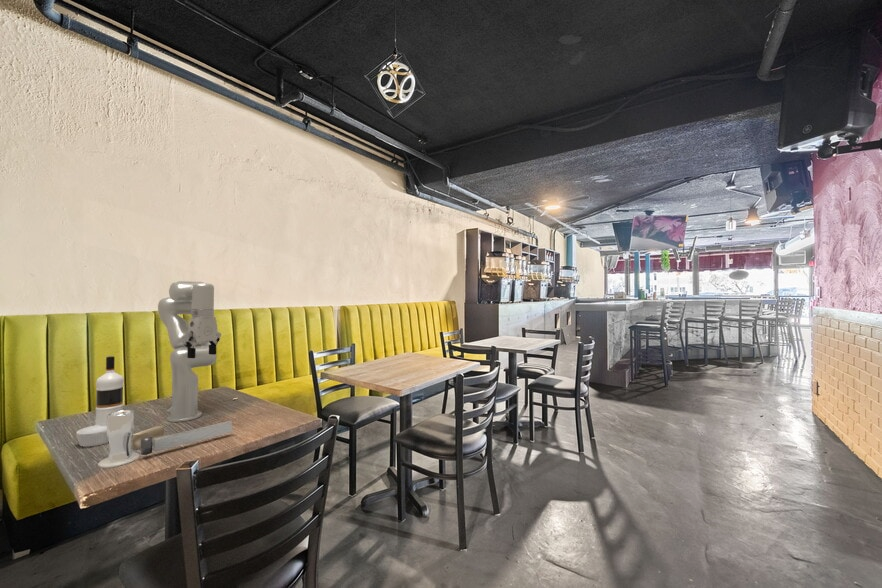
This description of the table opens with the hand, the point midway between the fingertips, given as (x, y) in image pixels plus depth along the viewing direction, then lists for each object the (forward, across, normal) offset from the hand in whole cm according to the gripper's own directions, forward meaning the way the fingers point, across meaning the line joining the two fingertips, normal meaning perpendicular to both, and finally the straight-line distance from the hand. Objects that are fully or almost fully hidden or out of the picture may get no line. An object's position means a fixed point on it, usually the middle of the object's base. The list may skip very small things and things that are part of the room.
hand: (202, 356), depth 146 cm
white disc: (+30, -28, +3) cm, 41 cm away
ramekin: (+31, -18, +28) cm, 45 cm away
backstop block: (+30, -15, +8) cm, 35 cm away
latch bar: (+29, -13, -9) cm, 33 cm away
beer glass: (+30, -28, +3) cm, 41 cm away
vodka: (+31, -8, +37) cm, 49 cm away
